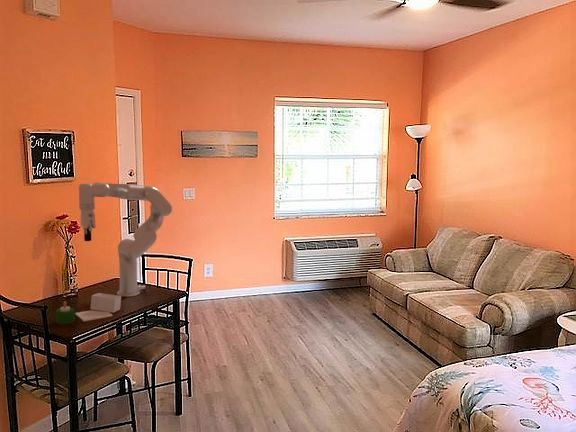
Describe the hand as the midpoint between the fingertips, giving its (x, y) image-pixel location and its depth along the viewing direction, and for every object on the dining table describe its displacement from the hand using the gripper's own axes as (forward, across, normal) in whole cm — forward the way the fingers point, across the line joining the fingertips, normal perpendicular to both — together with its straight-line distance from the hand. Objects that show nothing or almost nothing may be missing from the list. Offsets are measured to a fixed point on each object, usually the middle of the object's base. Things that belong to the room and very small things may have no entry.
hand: (87, 240), depth 267 cm
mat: (+33, -26, +6) cm, 42 cm away
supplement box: (+28, -17, +3) cm, 33 cm away
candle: (+33, -27, +20) cm, 47 cm away
